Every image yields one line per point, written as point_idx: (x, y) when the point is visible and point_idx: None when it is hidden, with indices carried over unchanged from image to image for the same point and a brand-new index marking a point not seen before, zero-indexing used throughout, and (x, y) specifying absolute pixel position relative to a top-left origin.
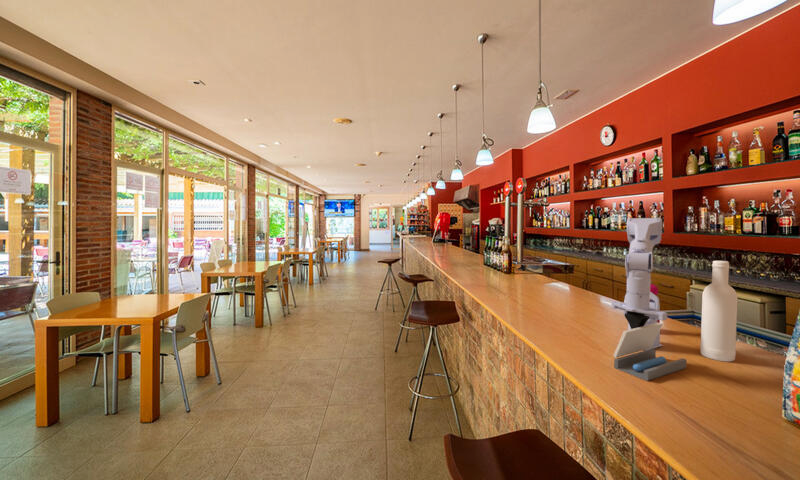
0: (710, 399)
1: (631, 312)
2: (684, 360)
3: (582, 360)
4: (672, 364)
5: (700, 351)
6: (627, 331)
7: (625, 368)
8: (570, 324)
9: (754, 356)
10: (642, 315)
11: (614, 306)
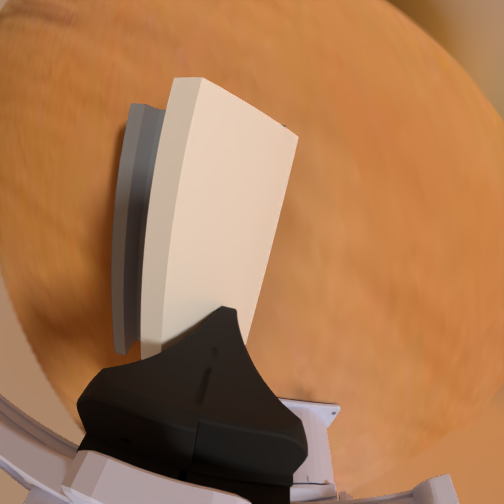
0: (31, 152)
1: (232, 492)
2: (114, 342)
3: (402, 115)
4: (112, 276)
5: None
6: (174, 109)
7: None
8: (469, 410)
9: None
10: (96, 446)
11: (432, 498)
